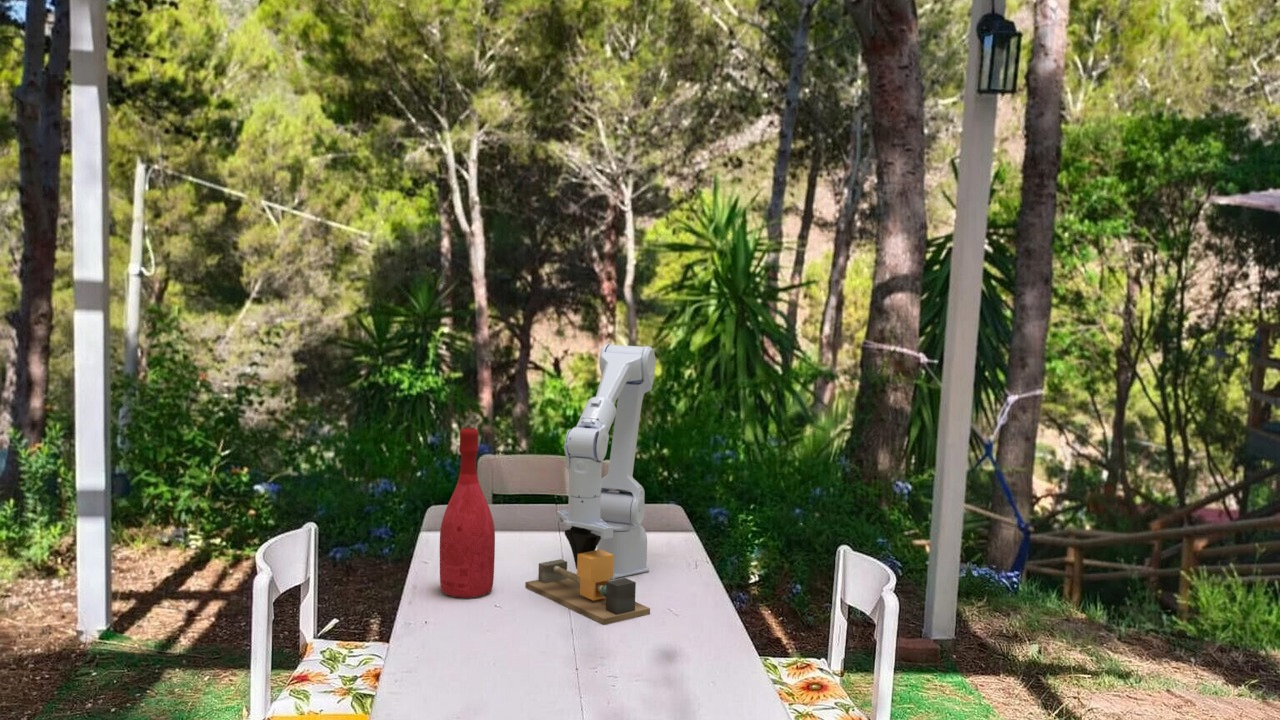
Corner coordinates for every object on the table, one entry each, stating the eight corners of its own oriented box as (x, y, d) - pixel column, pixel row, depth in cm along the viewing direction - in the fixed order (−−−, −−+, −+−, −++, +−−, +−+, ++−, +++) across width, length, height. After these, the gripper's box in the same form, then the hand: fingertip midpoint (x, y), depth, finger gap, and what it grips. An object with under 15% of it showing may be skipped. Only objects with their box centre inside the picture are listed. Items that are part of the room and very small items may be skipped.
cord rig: (525, 587, 206) (526, 555, 205) (569, 578, 212) (570, 547, 211) (603, 624, 187) (604, 590, 187) (650, 613, 194) (651, 580, 193)
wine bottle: (503, 587, 206) (506, 426, 202) (478, 603, 196) (481, 434, 193) (455, 580, 209) (457, 421, 206) (429, 595, 200) (430, 429, 196)
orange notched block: (576, 595, 197) (577, 553, 197) (599, 590, 201) (600, 549, 200) (589, 601, 194) (591, 559, 194) (612, 596, 198) (613, 554, 197)
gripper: (543, 489, 202) (541, 562, 203) (590, 505, 190) (588, 583, 192) (575, 484, 206) (573, 556, 207) (623, 500, 195) (621, 576, 196)
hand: (582, 569), depth 200 cm, fingers closed
